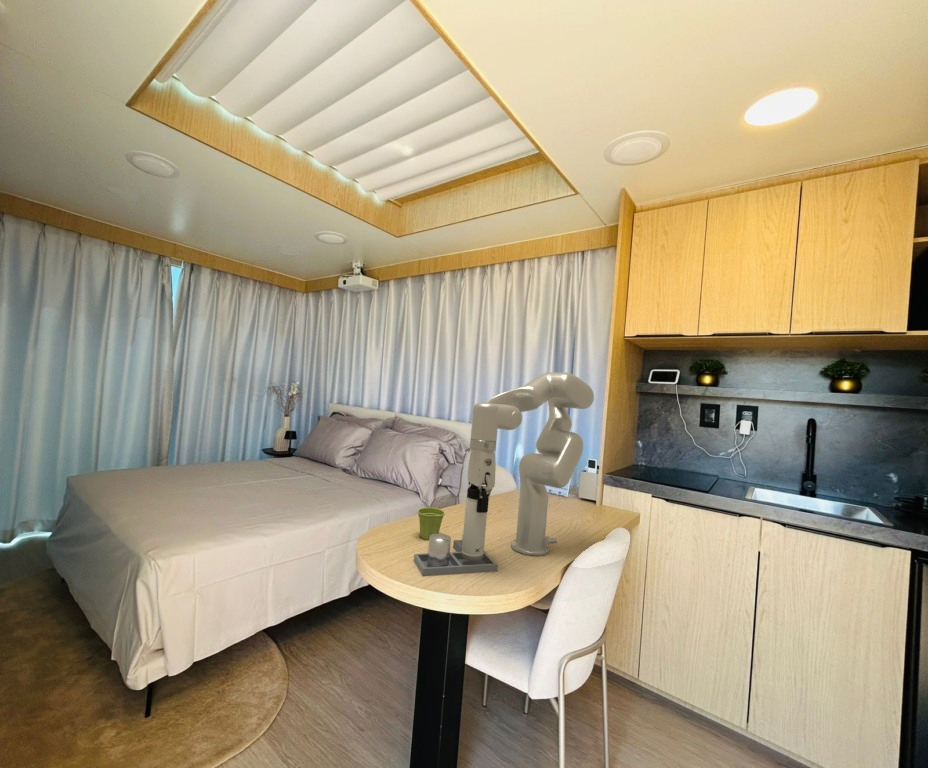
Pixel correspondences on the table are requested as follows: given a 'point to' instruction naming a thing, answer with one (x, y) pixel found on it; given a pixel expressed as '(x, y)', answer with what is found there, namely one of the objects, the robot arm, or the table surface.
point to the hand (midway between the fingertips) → (477, 508)
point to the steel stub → (438, 550)
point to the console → (457, 545)
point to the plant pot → (430, 521)
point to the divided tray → (456, 565)
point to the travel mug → (473, 527)
